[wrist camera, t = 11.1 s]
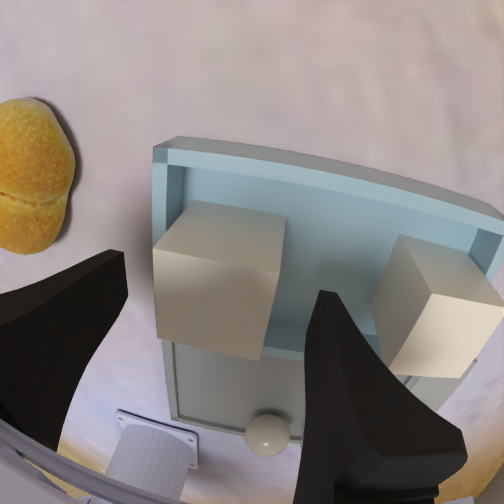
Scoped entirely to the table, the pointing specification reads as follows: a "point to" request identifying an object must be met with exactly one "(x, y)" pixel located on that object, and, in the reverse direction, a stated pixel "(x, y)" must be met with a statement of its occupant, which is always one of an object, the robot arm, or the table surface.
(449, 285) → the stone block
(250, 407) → the slate tray
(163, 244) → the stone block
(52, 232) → the bread roll
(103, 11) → the table surface
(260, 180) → the blue bin
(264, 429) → the pebble
